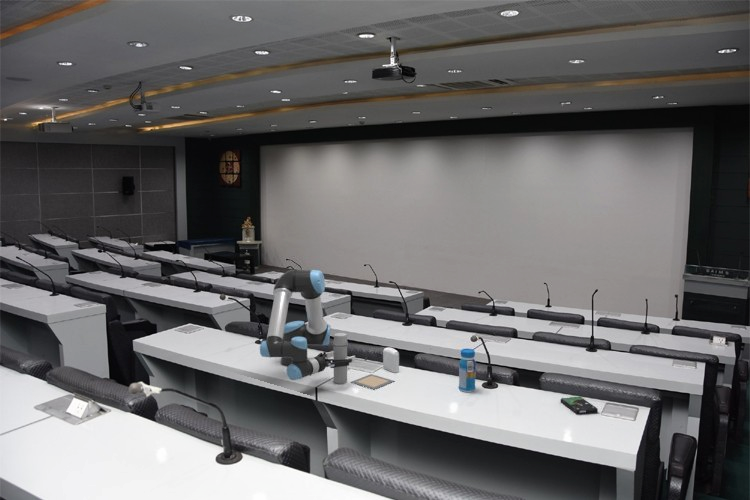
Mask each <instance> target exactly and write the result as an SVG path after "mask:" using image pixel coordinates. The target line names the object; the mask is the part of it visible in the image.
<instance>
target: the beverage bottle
mask: <svg viewBox="0 0 750 500" xmlns="http://www.w3.org/2000/svg"><path fill="white" fill-rule="evenodd" d="M475 354H476V351H475V349H473V348H462V349H461V350H460V357H461V359H460V360H459V363H458V364H459V366H458V372H459V374H458V389H459V391H460V392H464V393H472V392H473V393H474V392H475V390H476V372H477V367H476V366H477V363H476V360H475V356H476V355H475Z"/></svg>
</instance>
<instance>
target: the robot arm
mask: <svg viewBox="0 0 750 500" xmlns="http://www.w3.org/2000/svg"><path fill="white" fill-rule="evenodd" d="M325 289H326V280H325V276H324V273H323V272H322V271H321V270H317V269H291V270H287V271H285V272H284V273H282V275H280V276H279V278H278V279H277V281H276V282H275V284H274V287H273V291H272V292H273V293H272V294H273V296H274V298H273V303H272V308H271V313H270V317H269V318H270V319H269V325H268V329H267V330H268V332H267V336H266V340H262V341H261V342H260V345H259V352H260V353H259V354H260V355H261V357H262V358H270V359H271V358H281V359H280V364H281V365H283V366H287V367H286V376H287V377H288V379H290V380H291V381H296V380H301V379H303V378H306V377H309V376H312V375H314V374H317V373H320V372H321V373H322V372H323V371H324V370H325V369H326V368H328V367H330V369H334V368H335V367H342V366H347V367H348V366H350V364H351V363H353V362H356V355H352V356H349V357H348V356H347V358H345V359H341V360H334V352H333V350H331V351H329V352H326V351H323V352H320V353H318V354H317V355H316V356H314V357H312V358H311V357H310V358H308V348H309V347H308V346H327V345H329V343H330V336H331V327H332V326H331V324H328V323H327V320H325V319H324V313H323V305H322V298H321V297H322V294H323V293H324V292H325ZM293 293H300V296H301V297H302V298H303V299H304V305H305V311H306V316H307V323H305V321H303V320H295V321H290V322H287V321H286V320H287V315H288V311H289V310H288V308H289V303H290V298H291V297H292V296H293ZM286 322H287V323H286Z"/></svg>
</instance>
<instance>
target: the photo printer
mask: <svg viewBox="0 0 750 500" xmlns="http://www.w3.org/2000/svg"><path fill="white" fill-rule="evenodd" d="M382 351H383V352H382V365H383V366H382V369H384V370H385V371H386V370H387V371H389V372H392V373H398V372H399V371H400V352H399V351H398V350H396V349H395V348H392V347H385V348H384V349H383V350H382Z"/></svg>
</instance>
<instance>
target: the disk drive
mask: <svg viewBox="0 0 750 500" xmlns="http://www.w3.org/2000/svg"><path fill="white" fill-rule="evenodd" d="M560 403H561V404H562V405H563V406H565V407H566V408H567V409H569V410H570V411H571V413H574V414H575V415H580V416H581V415H591V414H595V415H596V414H598V413H599V412H598V411H599V410H598V409H599V408H597V406H594V405H593V404H592V403H590V402H589V401H587V400H586V399H585V398H583V397H582V396H570V397H561V398H560Z"/></svg>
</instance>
